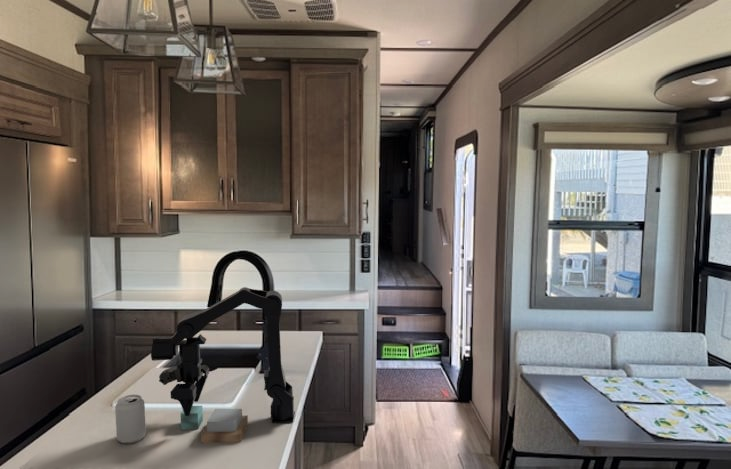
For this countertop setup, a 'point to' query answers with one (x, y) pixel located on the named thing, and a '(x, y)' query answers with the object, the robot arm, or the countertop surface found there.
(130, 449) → the countertop surface
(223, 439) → the walnut slab
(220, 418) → the grey block
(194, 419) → the teal block
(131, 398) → the can
